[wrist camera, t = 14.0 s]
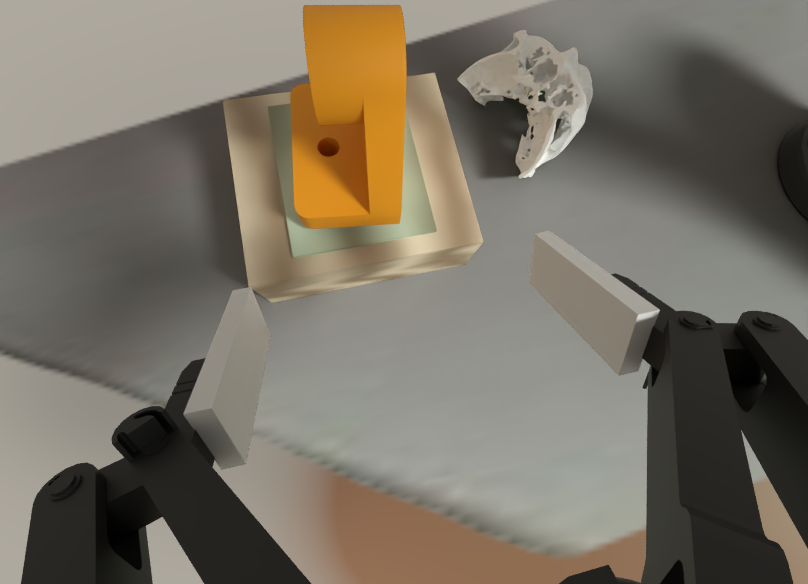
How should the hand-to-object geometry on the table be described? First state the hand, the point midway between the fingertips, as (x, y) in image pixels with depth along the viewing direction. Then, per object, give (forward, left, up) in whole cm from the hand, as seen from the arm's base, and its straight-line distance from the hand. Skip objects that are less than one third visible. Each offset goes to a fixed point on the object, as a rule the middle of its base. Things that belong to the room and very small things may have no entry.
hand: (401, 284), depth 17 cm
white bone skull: (-19, -18, -16) cm, 31 cm away
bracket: (+1, -12, -10) cm, 16 cm away
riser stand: (+1, -12, -16) cm, 20 cm away
